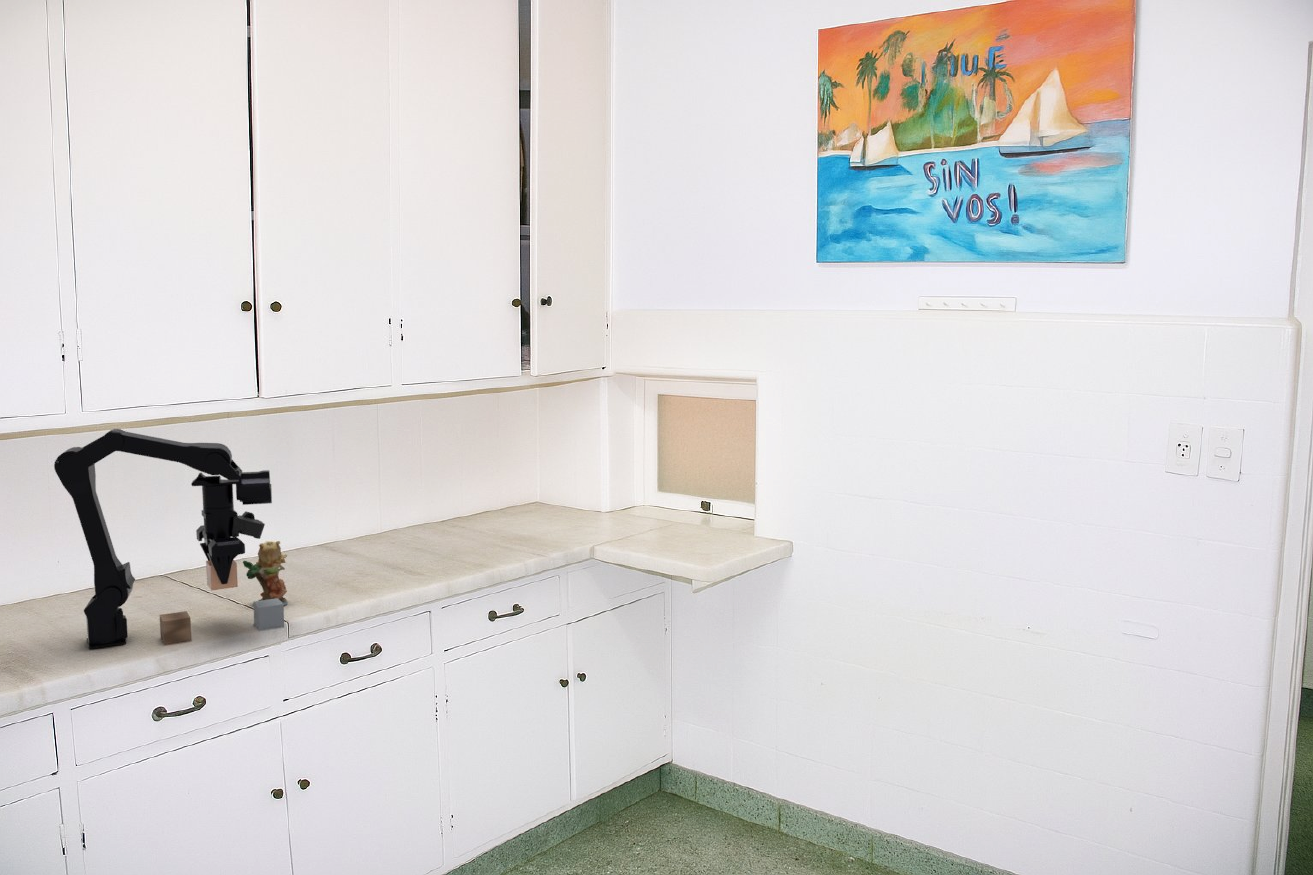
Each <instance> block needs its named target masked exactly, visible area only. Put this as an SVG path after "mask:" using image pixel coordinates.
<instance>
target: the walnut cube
mask: <svg viewBox="0 0 1313 875" xmlns="http://www.w3.org/2000/svg"><path fill="white" fill-rule="evenodd" d="M191 623H192V622H191V617H190V615H189V613H188V611H187V610H184V611H179V612H171V613H163V614H159V630H160V634H159V635H160V640H161V642H162V644H163V646H169V645H176V644H182V643H190V642H192V624H191Z"/></svg>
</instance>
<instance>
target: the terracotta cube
mask: <svg viewBox="0 0 1313 875" xmlns="http://www.w3.org/2000/svg"><path fill="white" fill-rule="evenodd" d="M205 567H206V568H205V570H206V571H205V572H206V585H207V587H208V588H209V589H210V590H211V591H218V590H225V589H226V590H227V589H232V588H233V589H234V588H239V585H238V583H239V581H238V563H237V561H235V559H233V562H232V565H231V570H230V574H229V579H228V583H227V584H221V582H220V580H219V578H218V575H217V573H216V571H215V569H214V567H213V565H212V562H211V560H210V561H208V560H206V561H205Z"/></svg>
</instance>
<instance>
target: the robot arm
mask: <svg viewBox="0 0 1313 875" xmlns="http://www.w3.org/2000/svg"><path fill="white" fill-rule="evenodd" d="M115 452H122V453H127V454H131V455H132V454H133V455H138V456H142V457H143V456H144V457H148V458H153V459H159V460H164V461H170V462H175V463H180V464H183V465H185V466H187V467H189V468H192V469H194V470H196V471H198V472H199V473H198V475H197V477H195V478H194V479H193V480H192V482H191V486H192V487H201V492H202V508H203V509H201V516H202V517H203V524H202V525H200V526H199V527H198V528H197V529H196V531H195V532H196V534H195V535H196V540H197V542H200V543H199V546H200V547H201V550H202V552H203V554H204V555H205V557H206V559H207V561H210V560H211V562H212V565H213V567H214V569H215V571H216V573H217V575H218V578H219V580H220V582H221V584H227V583H228V579H229V574H230V570H231V565H232V562H233V560H235V558H237V556H239V555H243V554H246V544H245V543H244V542H243V541H242V540H241V539H240V538H239V537H240V534H241V535H244V536H247V537H248V536H249V537H253V538H254V539H256V540H257V539H261V536H262V533H263V531H264V527H265V525H266V524H265V523H264V522H263V521H261V520H260V519H255V515H254V513H253V512H250V511H247V510H246V511H244V512H243V513H242V515H240V514H238V511H236V510H235V508H234V504H235V503H234V490H233V489H234V485H235V493H236V494H235V495H236V501H239V502H240V503H242V506H244V505H245V506H246V505H247V506H248V505H264V504H265V505H266V504H272V503H273V501H272V499H273V497H272V496H273V495H272V493H273V492H272V483H271V477H270V475H271V474H270V470H268V469H266V470H259V471H246V472H245V471H244V472H243V470H242V469H241V467H240V466H239V465H238V464H237V463H236V462H235V461H234V460H233V454H232V452H231V450H230V448H229V447H228V446H227V445H225V444H223V443H219V442H182V441H177V440H172V439H171V440H170V439H166V438H160V437H155V436H151V435H146V434H140V433H137V432H136V433H135V432H130V431H125V430H123V429H121V428H113V429H110V430H109V431H108V432H106V433H105V434H104V435H102V436H101V437H98V438H97V439H95V440H93V441H91V442H90V443H88V444H86V445H85V446H82V447H81V446H73V447H70V448H67V450H65V451H63V452H62V453H60V455H58V456H57V458H56V459H55V461H54V464H53V466H54V471H55V473H56V475H57V476H58V479H59V480H60V483H61V484H62V486H63V488H64V489H65V490H66V492H68V494H69V495H70V496H71V498H72V501H73V504H74V507H75V510H76V513H77V515H78V516H77V517H78V520H79V522H80V525H81V528H82V532H83V534H84V539H85V541H86V544H87V549H88V551H89V554H90V557H91V560H92V563H93V584H94V595H93V596H91V598H90V600H89V602H88V603H87V604H86V606H85V608H84V609H83V613H84V615H85V618H86V631H87V638H86V643H87V647H88V649H89V650H93V649H101V648H106V647H107V648H108V647H113V646H119V645H120V646H121V645H126V644H127V640H126V639H128V637H129V635H128V621H127V620H128V618H127V616H126V615H124V611H123V609H122V608H121V607H122V606H123V605H124V604H126V602H127V601H128V598H129V597H130V595H131V593H132V591H133V588H134V583H135V581H136V578H135V577H134V575H133V574H132V570H131V563H130V562H129V561H128V562H125V563H122V562H121V561H120V559H119V558H118V556H117V554H116V551H115V548H114V545H113V542H112V538H111V536H110V532H109V528H108V525H107V522H106V519H105V516H104V514H103V508H102V506H101V503H100V501H99V497H98V494H97V489H96V488H97V486H96V484H97V482H96V481H97V480H96V467H95V466H96V465H95V464H97V463H98V462H101V461H102V460H103V459H105V458H107V457H108V456H109V455H112V454H113V453H115ZM203 473H204V474H208V475H207V476H206V475H204V474H203ZM209 475H210V476H209ZM222 477H223V478H225V479H221V478H222ZM203 539H204V540H203ZM202 541H203V542H202Z"/></svg>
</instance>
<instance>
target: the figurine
mask: <svg viewBox="0 0 1313 875" xmlns="http://www.w3.org/2000/svg"><path fill="white" fill-rule="evenodd" d="M280 541H281V540H277V541H272V540H271V541H265V542H262V543H259V544H258V547H259V548H258V551H257V556H258V561H256V562H255V564H253V563H252V562H251V561H248V560H243V561H242V564H243V567H244V568H247V569H248V570H247V572H246V578H247V579H248V580H252V579H255V578H256V580H257V581H258V582H259V585H260V587H261V588H262V592H261V593H260V596H261V597H262V598H260V599H258V600H257V601H262V600H269V599H276V598H278V599H279V600H280V601H281V602H282V603H283V605H284V606H287V604H288V599H286V597H284V596H285V595H286V594H287V592H288V590H287V588H286V585H285V584H286V583H285V581H284V579H281V578H280V577H279V574H280V573H279V572H281V571H284V570H285V569H286V568H285V567H284V566H283V565H281V564H284V563H285V564H286V562H287V561H286V560H285V559H286V558H287V557H288V554H285V553H284V554H282V551H281V549H282V548H281V546H280V545H281V542H280Z"/></svg>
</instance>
